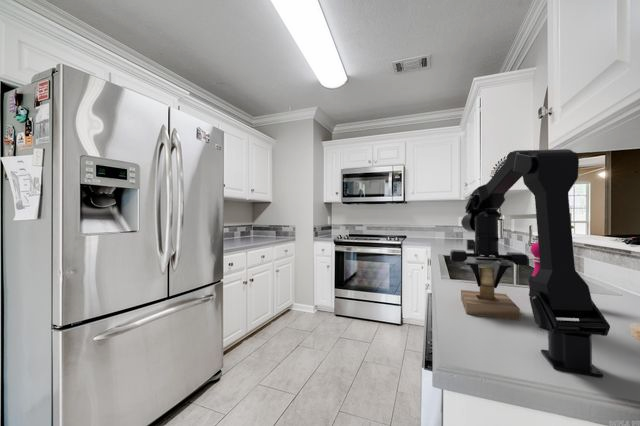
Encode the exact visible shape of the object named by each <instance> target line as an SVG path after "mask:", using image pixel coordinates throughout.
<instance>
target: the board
mask: <svg viewBox="0 0 640 426" xmlns="http://www.w3.org/2000/svg"><path fill="white" fill-rule="evenodd" d="M460 300H461V303H462V305H463V308H464V311H465V313H466V315H472V316H481V317H490V318H497V319H504V320H514V321H521V316H520V315H521V309H520V307H519V306H518V305H517V304H516V303H515V302H514V301H513V300H512V299H511V298H510V296H508V294H507V293H501V292H500V293H499V292H498V293H497V292H494V298H487V297H482V296H480V290H478V291H477V290H469V289H467V290H466V289H460Z"/></svg>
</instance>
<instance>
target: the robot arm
mask: <svg viewBox="0 0 640 426" xmlns="http://www.w3.org/2000/svg"><path fill="white" fill-rule="evenodd" d="M577 153H578V152H575V151H573V150H572V149H568V148H559V149H533V150H532V149H524V150H523V149H522V150H521V149H520V150H517V149H516V150H512V151H509V153H508V154H507V156H506V159H505V161H504V162H503V163H502V165H501V166H500V167H499V168H498V169H497V171H495V173H494V174H493V176H492V177H491V178H490V180H489V181H488V182H487V183H486V184H483V185H480V186H478V187H477V188H475V190H473V191H472V193H471V194H470V196H469V199H468V201H467V202H466V205H465V215H464V216H463V217H462V219H461V222H460V223H461V226H462V228H463V229H465V230H466V231H468V232H474V239H466V250H467V251H470V252H467V251H466V250H461V249H451V250H450V251H449V260H450V261H451V262H459V263H464V264H465V265H467V266H469V267H470V270H471V271H472V274H473V276H474V279H475V281H476V285H477V287H478V288H480V273H479V264H478V262H477V261H492V262H493V261H495V262H494V285H495V287H494V289H497V288H498V285H499V283H500V281H501V279H502V277H503V275H504V274H505V272H507V270H508V268H510V269H511V268H512V267H513V266H512V265H511V263H512V264H514V265H516V266H530V258H529V257H530V256H529V255H528V254H525V253H523V252H513V251H512V252H511V251H507V252H506V253H505V254H499V253H500V252H499V218H501V217H502V214H501V213H500V212H499V211H498V210H499V209H500V208H501V206H502V205H503V204H504V202H505V201H506V198H505V195H506V193H508V191H509V190H510V189H511V188H512V187H513V186H514V185H515V184H516V183H517V182H518V181H519V180H520V179H521V178H522V180H523V184H524V185H525V187H526V188H527V189H528V190H529V191H530V192H531V193H532V194H533V196H534V201H535V216H536V230H537V241H538V244H539V257H540V269H539V271H538V272H537V274H536V275H535V276H532V275H529V277H528V287H529V291H528V297H529V302H530V306H531V311H532V316H533V319H534V323H535V324H536V325H537V326H538V328H539V329H541V330H544V331H547V334H548V335H547V338H548V340H547V342H548V343H547V344H548V345H547V347H548V350H547V349H540V353H541V354H542V356H543V357H544V358H545V359H546V361H547V362H548V363H549V364H550V366H551V367H553V369H556V370H559V371H565V372H571V373H577V374H582V375H589V376H593V377H594V376H595V377H599V378H600V377H601V378H603V377H604V373H603V372H602V371H601V370H600V369H599V368H597V366H595V365H594V363H593V350H592V349H593V343H592V342H593V341H592V339H593V335H594V336H603V337H606V336H608V334H609V331H610V329H611V325H610V324H609V322H608V320H606V318H605V316H604V315H603V314H602V312H601V311H600V310H599V308H598V307H597V305H596V304H595V302H594V301H593V299H592V296H591V291H590V287H589V285H588V283H587V282H586V281H585V280H584V278H583V277H582V276H581V275H580V274H579V273H578V272H577V269H576V263H575V254H574V253H575V252H574V241H573V231H572V230H573V229H572V221H571V210H570V207H571V206H570V199H569V194H570V193H569V192H570V191H571V189H573V187H574V185H575V184H576V182H577V180H578V178H579V168H580V167H579V166H580V165H579V164H580V159H579V156H578V154H577ZM471 251H473V253H471ZM557 318H558V319H557ZM559 319H561V320H559ZM563 319H578V320H563Z"/></svg>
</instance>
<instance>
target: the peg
mask: <svg viewBox="0 0 640 426" xmlns="http://www.w3.org/2000/svg"><path fill="white" fill-rule="evenodd" d="M478 268H479V276H480V287H479V292H480V296H482V297H487V298H494V293H495V288H494V287H495V285H494V275H495V267H494V268H493V267H489V266H478Z"/></svg>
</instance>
